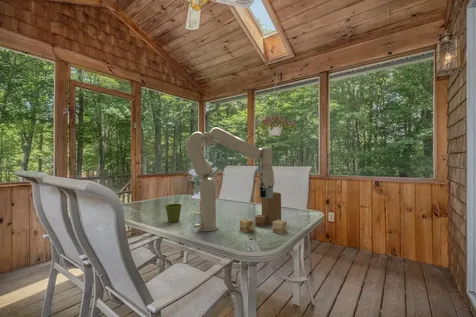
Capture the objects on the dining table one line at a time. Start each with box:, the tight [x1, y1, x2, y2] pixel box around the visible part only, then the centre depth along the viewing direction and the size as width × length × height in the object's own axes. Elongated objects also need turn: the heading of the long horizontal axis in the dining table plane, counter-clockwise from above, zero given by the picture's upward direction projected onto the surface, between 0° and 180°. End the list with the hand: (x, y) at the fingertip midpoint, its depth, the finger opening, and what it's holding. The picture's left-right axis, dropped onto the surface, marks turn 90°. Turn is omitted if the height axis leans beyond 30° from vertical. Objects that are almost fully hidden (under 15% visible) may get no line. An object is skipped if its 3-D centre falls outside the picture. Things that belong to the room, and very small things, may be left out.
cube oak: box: [239, 218, 255, 233], centre depth 140 cm, size 6×6×6 cm
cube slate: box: [259, 186, 274, 199], centre depth 145 cm, size 6×6×6 cm
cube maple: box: [272, 219, 288, 235], centre depth 137 cm, size 6×6×6 cm
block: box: [261, 191, 282, 225], centre depth 158 cm, size 10×10×20 cm
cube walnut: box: [254, 214, 267, 228], centre depth 151 cm, size 6×6×6 cm
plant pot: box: [164, 203, 183, 223], centre depth 163 cm, size 12×12×11 cm
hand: (266, 196), depth 145 cm, fingers closed on cube slate, 6 cm apart
